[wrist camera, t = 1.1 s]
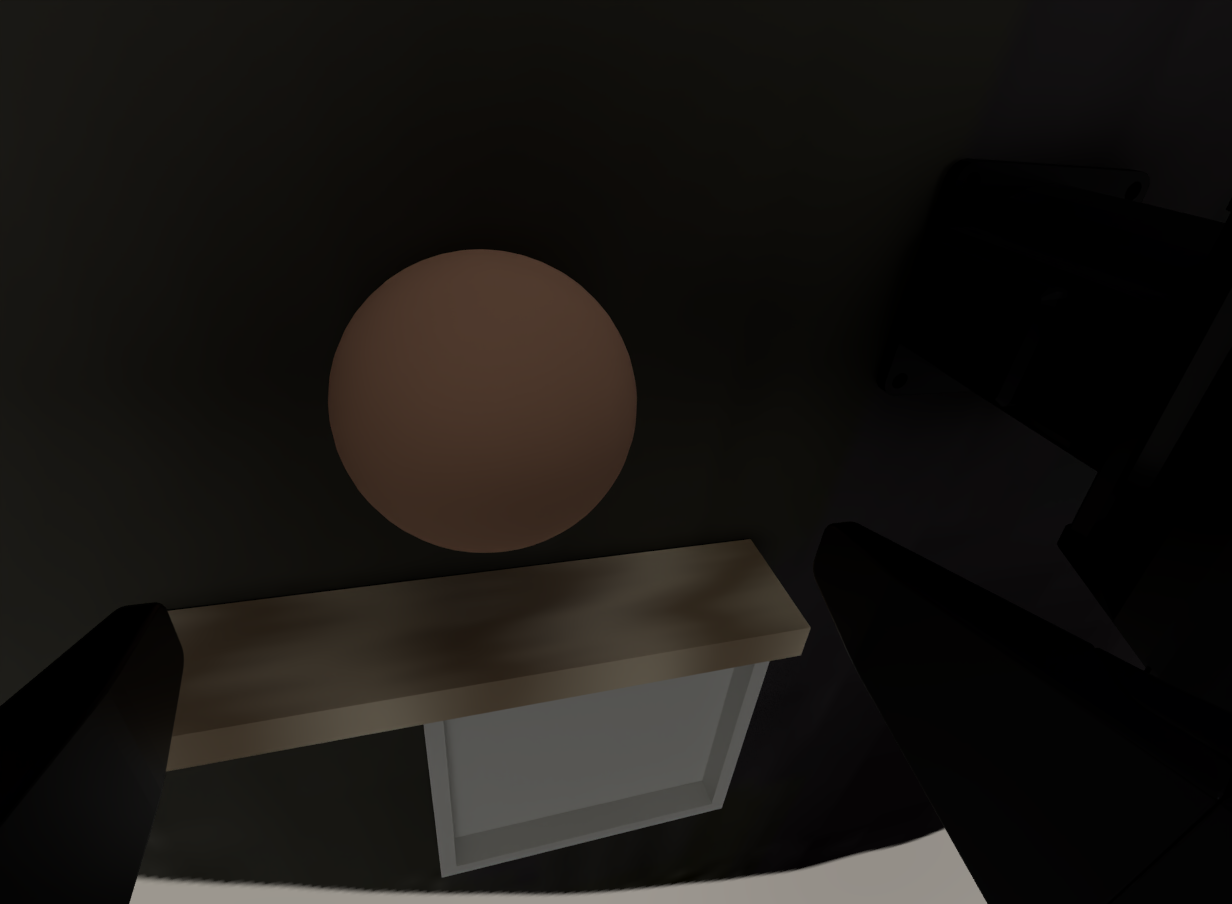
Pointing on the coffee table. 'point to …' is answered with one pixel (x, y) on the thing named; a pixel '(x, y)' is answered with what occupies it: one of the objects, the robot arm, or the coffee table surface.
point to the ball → (482, 401)
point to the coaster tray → (585, 765)
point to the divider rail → (468, 646)
